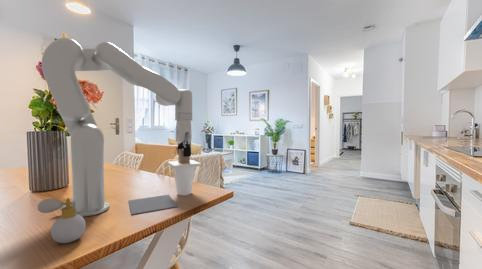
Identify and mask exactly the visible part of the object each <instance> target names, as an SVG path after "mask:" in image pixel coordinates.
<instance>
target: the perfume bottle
mask: <svg viewBox="0 0 482 269" xmlns="http://www.w3.org/2000/svg"><path fill="white" fill-rule="evenodd" d="M71 201H72V200H71V199H70V198H69V197H67V199H66V201H65V202H63V201H62V200H60V199H56V198H46V199H42V200H41V201H39V203H38V205H37V210H38V212H39V213H42V214H49V213H53V212H56V211H57V210H59V208H61V207H62V206H63V205H66V207H65V208H63V209H62V210H61V215H60V217H59V218H58V219H56V220H55V221H54V223H53V224H52V225H51V229H50V236H51V238H52V239H53V240H54V241H55V242H57V243H59V244H69V243H72V242H74V241H77V240H78V239H79V238H81V237H82V235H83V234H84V233H85V230H86V220H85V217H82V216H80V215H78V214H76V213H75V207H74V206H70V205H71V204H72V202H71Z"/></svg>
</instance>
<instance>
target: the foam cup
mask: <svg viewBox="0 0 482 269" xmlns="http://www.w3.org/2000/svg"><path fill="white" fill-rule="evenodd" d="M195 170H196V167H186V168H176V169H174V168H173V173H174V181H175V186H176V193H177V195H179V196H189V195H191V194H192V191H193V185H194V184H193V182H194V176H195Z"/></svg>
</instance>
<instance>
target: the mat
mask: <svg viewBox="0 0 482 269" xmlns="http://www.w3.org/2000/svg"><path fill="white" fill-rule="evenodd" d="M128 205H129V209H130V213H131V214H130V215H131V216H134V215H140V214H147V213H152V212H157V211H163V210H168V209H174V208H178V207H179V205H178V204H177V203H176V201H175V200H174V199H173V198H172V196H170V194H163V195H158V196H151V197H149V196H148V197H144V198H137V199H131V200H130V199H129V200H128Z"/></svg>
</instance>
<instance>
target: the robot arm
mask: <svg viewBox="0 0 482 269" xmlns="http://www.w3.org/2000/svg"><path fill="white" fill-rule="evenodd" d="M41 70H42V73H43V74H42V75H43V77H44V79H45V82H46V84H47V87H48V89H49V92H50V94H51V96H52V97H53V100H54V103H55V105H56V107H57V108H56V109H57V112H58V114H59V115H60V117H61V119H62V121H63V123H64V125H65V128H66V130H67V132H68V133H69V134H68V135H69V137H70V150H71V157H70V158H71V174H72V175H71V177H72V178H71V180H72V181H71V182H72V199H71V200H70V201H71V202H72V204H71V205H70V206H74V207H75V213H76V214H78V215H80V216H82V217H83V218H85V217H90V216H96V215H100V214H102V213H105V211H108V210H109V209H110V203H109V202H106V201H105V175H104V174H105V168H104V167H105V166H104V165H105V164H104V154H105V152H104V149H105V148H104V147H105V146H104V145H105V138H104V134H103V131H102V130H101V128H100V127H98V124H97V122H96V120H95V118H94V115H93V114H92V111H91V105H90V103H89V101H88V100H87V98H86V97H85V94H84V92H83V89H82V87H81V85H80V82H79V80H78V77H77V75H76V72H93V71H94V72H95V71H96V72H97V71H98V72H99V71H100V72H101V71H109V70H110V71H112V72H113V73H115V74H116V75H117V76H118V77H121V78H122V79H123V80H124V81H126V82H128V83H129V84H130V85H133V86H137V87H141V88H144V89H147V90H148V91H150V92H152V93H153V94H155V101H156V102H157V103H158V104H159V105H161V106H164V107H166V106H167V107H168V106H174V117H175V118H174V120H175V121H176V123H175V142H177V150H178V149H183V156H184V157H188V156H190V157H192V121H193V92H192V91H191V90H190V89H183V88H182V89H179V88H178V87H177V86H176V85H175V84H173V83H172V82H171V81H169V80H168V79H167V78H165V77H164V76H162V75H161V74H159V73H157V72H155V71H153V70H151V69H149V68H147V67H146V66H144V65H142V64H141V63H140V62H138V61H137V60H135V59H134V58H133V57H132V56H130V55H128V53H126V52H125V51H123V50H122V49H121V48H119V47H118V46H117V45H115V44H113V43H112V42H109V41H102V42H100V43H98V44H97V45H96V46H95V47H94V48H84V47H82V45H81V44H80V43H78V41H76V40H74V39H72V38H70V37H69V38H67V37H61V38H58V39H56V40H54V41H51V43H49V45H48V46H46V48H45V50H44V52H43V53H42V57H41ZM65 207H66V205H63V206H62V207H61V208H59V209H60V211H62V209H63V208H65ZM59 209H58V210H59Z"/></svg>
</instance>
